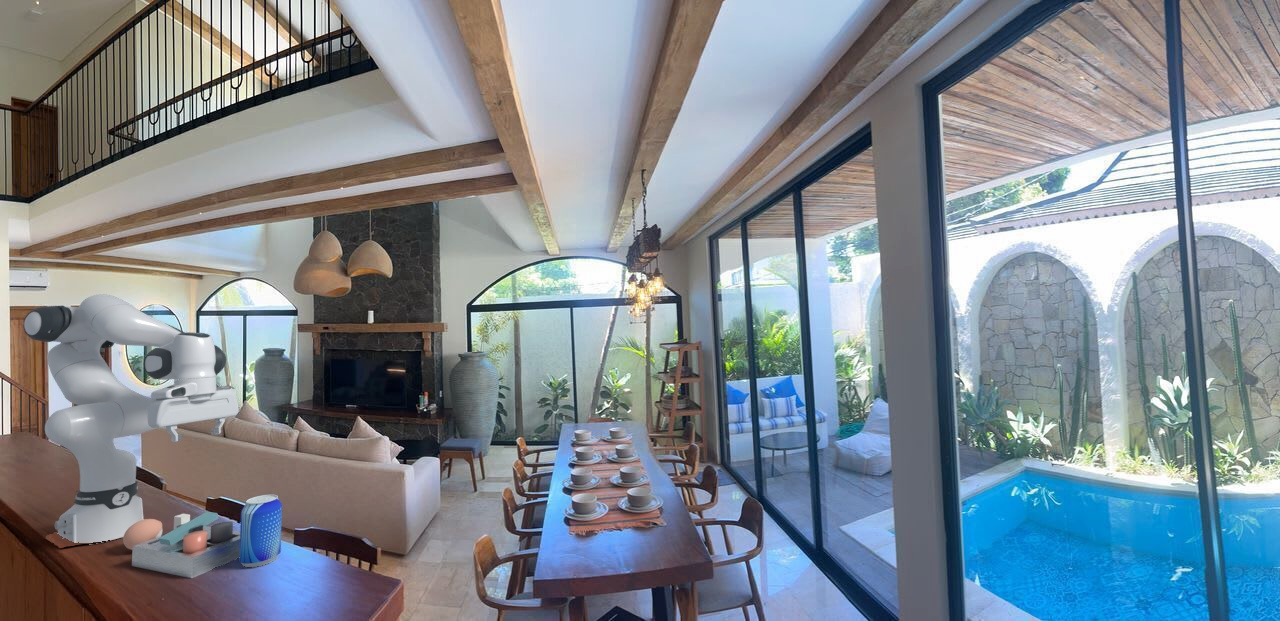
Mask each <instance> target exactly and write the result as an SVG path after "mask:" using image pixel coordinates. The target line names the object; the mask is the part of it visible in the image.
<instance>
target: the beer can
mask: <svg viewBox="0 0 1280 621" xmlns="http://www.w3.org/2000/svg"><path fill="white" fill-rule="evenodd" d="M282 512H283V504H282V502H281V500H279V497H278V495H277V494H263V495H262V494H261V495H258V496H254V497H251V498H248V499H247V500H246V501H245V505H244V506H243V507H242V509H241V511H240V529H239V530H240V558H239V559H238V560H239V563H240V564H241V565H242V567H244V566H245V567H244V568H247V567H252V568H257V566H259V567H263V566H265V564H266V565H269V564H270V562H271V563H273V562H274V561H275V560H277V558H278V556H279V555H280V554H281V551H282V548H281V547H282V515H283V514H282ZM278 540H279V541H278ZM272 561H273V562H272ZM268 563H269V564H268ZM262 565H263V566H262Z"/></svg>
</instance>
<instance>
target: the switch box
mask: <svg viewBox="0 0 1280 621" xmlns="http://www.w3.org/2000/svg"><path fill="white" fill-rule="evenodd" d="M182 525H184V524H182ZM182 525H178V526H177V528H178V527H180V526H182ZM196 531H207V548H206V549H203V550H200V551H198V552H195V553H193V554H190V555H189V554H184V553H183V539H182V540H180V541H178V542H177V543H175V544H173V545H171V546H170V545H165V544H160V541H159V538H160V537H158V538H155V539H152V540H149V541H146V542H143V543H140V544H137V545H134V546H133V547H132V550H131V551H132V552H131V566H132V567H136V568H141V569H145V570H150V571H154V572H155V571H156V572H160V573H164V574H169V575H173V576H174V575H175V576H178V577H179V576H180V577H184V578H187V579H193V578H196V577H198V576H200V575H203V574H206V573H208V572H210V571H212V569H213V568H215V567H217V568H219V567H218V566H220V567H222V566H224V565H226V563H227V564H229V563H231V562H234V561H236V560H238V559H237V558H239V557H240V531H239V530H233V537H232V539H229V540H227V541H224V542H221V543H219V544H214V543H210V539H211V526H210V525H206V526H205V527H203V525H199V526H196V527H193V528H191V530H190V533H192V532H196ZM162 536H163V535H161V537H162ZM235 559H236V560H235ZM233 560H234V561H233ZM230 561H231V562H230ZM228 562H229V563H228ZM223 564H224V565H223ZM221 565H222V566H221ZM215 569H216V568H215ZM213 570H214V569H213Z"/></svg>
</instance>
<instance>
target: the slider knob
mask: <svg viewBox="0 0 1280 621" xmlns="http://www.w3.org/2000/svg"><path fill="white" fill-rule="evenodd" d="M173 518H174V519H173V530H174V529H176V528H177V526H178V525H182V524H185V523H187V522H189V521H191V514H188V513H181V514H177V515H175V516H173Z"/></svg>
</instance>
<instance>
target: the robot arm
mask: <svg viewBox="0 0 1280 621" xmlns="http://www.w3.org/2000/svg"><path fill="white" fill-rule="evenodd" d="M22 327H23V330H24V333H25V334H26V336H27V337H28V338H29V339H31V340H34V341H38V342H46V343H52V342H55V343H59V344H56V345H55V346H53V347H52V348H50V350H49V351H48V353H47V354H46V355H47V359H46V360H47V364H48V368H49V370H50V373H51V375H52V378H53V380H54V381H55V383H56V385H57V386H58V388H59V389H60V391H61V393H62V394H63V396H64V398H65V399H66V400H67V401H68V402H70V403H72V404H73V406H69V407H66V408H62V409H58V410H56V411H54V412H53V413H52V414H51V415H50V416H49V417H48V418H47V420H46V422H45V424H44V434H45V435H46V437H47V438H48V439H49V440H50V442H52V443H54V444H55V445H56V444H57V445H59V446H61V447H64V448H65V449H67V450H68V451H70V452H71V453H72V454H73V456H74V457H75V459H76V460H77V463H78V467H79V490H76V491H75V493H76V494H75V498H74V504H73V505H72V506H70V508H69V509H67V510H66V511H65V512H63V513H62V514H61V515H60V516H59V518H58V520H56V521H55V522H54V529H55V530H57V531H58V533H57V534H59V535H60V536H62V537H63V538H62V539H64V538H66V539H68V540H69V541H72V542H74V543H78V542H79V543H93V542H101V543H103V542H102V541H106V542H109V541H108V540H110V541H112V540H116V539H117V540H118V539H120V538H121V539H122V538H123V537H124V534H125V532H126V531H127V529H128V528H129V527H130V526H132V525H133V524H135V523H136V522H138V521H141V520H145V519H146V518H144V509H143V499H142V498H141V497H140V496H137V494H138V490H139V485H138V481H137V479H136V477H137V458H136V456H135V455H134V453H132V452H131V451H127V450H124V449H119V448H116V446H115V444H114V440H115V439H118V438H124V437H129V436H136V435H141V434H144V433H148V432H151V431H153V430H156V429H159V428H165V431H166V432H167V434H168V435H169V436H170V437H171V438H170V440H171V443H178V442H182V441H183V438H182V437H183V434H178V432H177V429H178V425H184V424H190V423H197V422H203V421H204V422H205V421H209V420H214V422H215V426H214V428H210V434H211V436H216V435H220V434H221V433H222V430H221V429H222V427H223V425H224V423H225V422H226V418H229V417H235V416H237V415H238V413H239V411H240V409H239V402H238V398H237V389H236V388H235V387H233V386H232V385H224V386H217V375H219V374H220V373H221V372H222V371H223V370H224V368H225V366H226V364H227V356H226V354H225V352H224V351H223V350H222V348H220V347H219V346H218V345H216V344H215V343H214V339H213V337H212V335H210V334H209V333H204V332H187V331H186V332H185V331H183V330H181V329H178V328H177V327H175V326H173V325H170V324H168V323H165V322H163V321H161V320H159V319H156V318H155V317H152V316H150V315H148V314H146V312H145V313H144V312H143V311H142V310H140V309H138V308H136V307H135V306H134V305H132V304H130V303H129V302H127V301H125V300H123V299H121V298H120V297H117V296H114V295H111V294H107V293H106V294H105V293H103V294H101V293H99V294H94V295H91V296H88V297H86V298H85V299H83V301H82V302H81V303H80V304H79V306H65V305H49V306H39V307H35V308H34V309H32V310H31V311H29V312H28V313H27V314H26V315H25V318H24V320H23V326H22ZM115 344H116V345H121V346H139V347H140V346H141V347H154V348H153V349H151V350H150V351H149V352H148V353H147V354H146V355H145V356H144V358H143V370H144V372H145V373H146V374H147V376H148V377H150V378H151V379H154V380H158V381H165V380H166V381H167V380H173V384H171V385H169V386H165V387H164V388H163V387H162V388H160V389H156V390H153V391H152V392H150V397H149V396H145V395H144V394H141V393H139V392H136V391H134V390H132V389H131V388H130V387H127V386H126V385H125V384H123V383H122V382H121V381H119V380H118V378H117V377H116V376H115V373H114V372H113V371H112V370H111V368H110V367H109V365H108V363H107V362H106V360H105V359H104V358H103V357H102V354H101V352H100V351H101V349H109V348H111V347H113V346H114V345H115Z"/></svg>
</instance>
